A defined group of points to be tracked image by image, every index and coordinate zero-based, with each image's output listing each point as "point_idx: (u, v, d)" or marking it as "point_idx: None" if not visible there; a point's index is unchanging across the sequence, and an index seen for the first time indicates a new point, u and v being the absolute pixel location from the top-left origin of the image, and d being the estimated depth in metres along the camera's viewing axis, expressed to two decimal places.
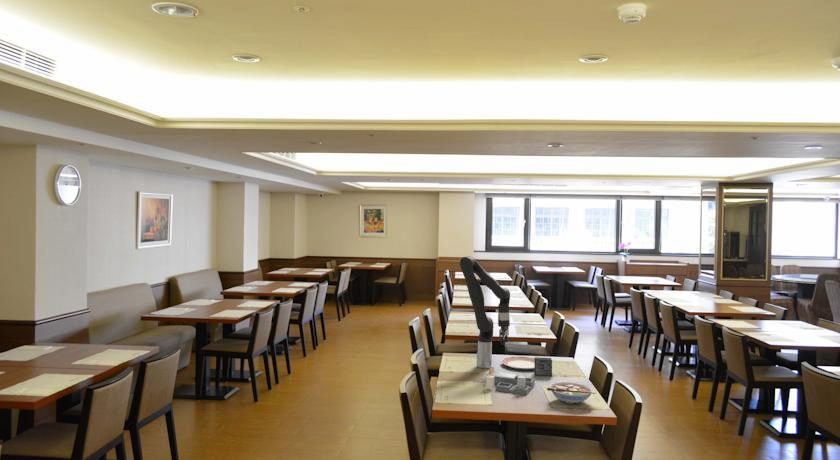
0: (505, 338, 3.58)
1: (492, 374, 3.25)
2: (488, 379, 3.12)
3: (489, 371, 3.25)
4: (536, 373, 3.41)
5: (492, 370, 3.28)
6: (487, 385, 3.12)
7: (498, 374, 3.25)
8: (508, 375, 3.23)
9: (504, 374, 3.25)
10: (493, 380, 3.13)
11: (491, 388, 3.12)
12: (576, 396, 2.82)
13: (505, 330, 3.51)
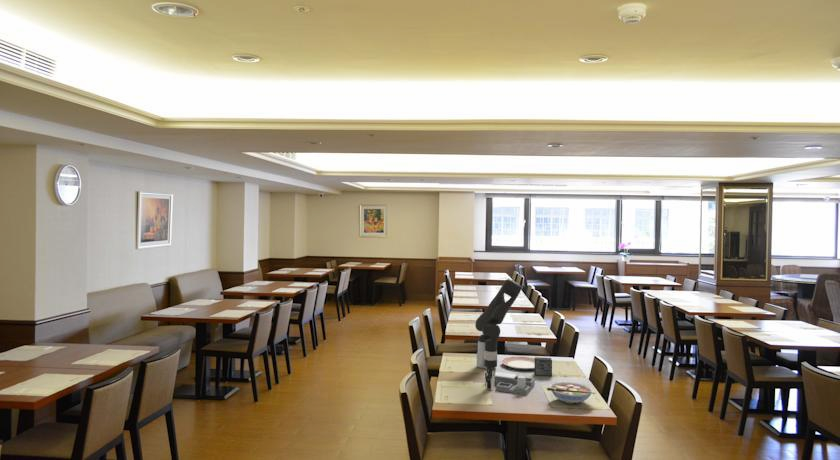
0: None
1: None
2: (488, 379, 3.12)
3: None
4: (536, 373, 3.41)
5: None
6: None
7: (498, 374, 3.25)
8: (508, 375, 3.23)
9: (504, 374, 3.25)
10: (493, 380, 3.13)
11: (491, 388, 3.12)
12: (576, 396, 2.82)
13: (492, 372, 3.11)
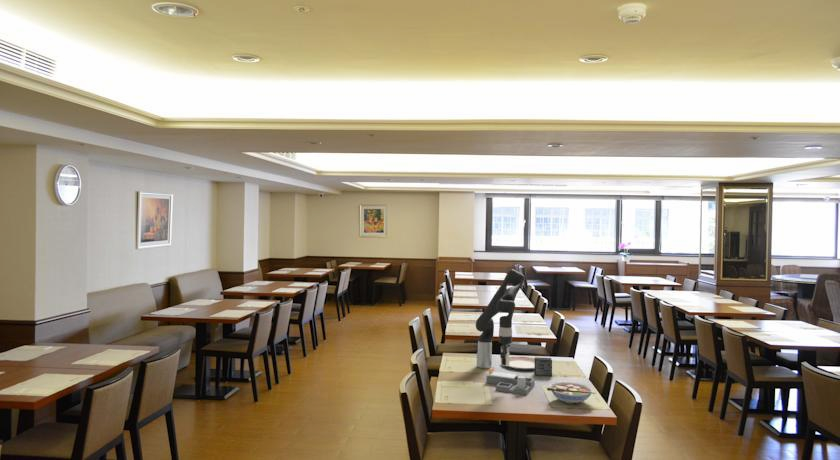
0: None
1: (492, 374, 3.25)
2: None
3: (489, 371, 3.25)
4: (536, 373, 3.41)
5: (492, 370, 3.28)
6: None
7: (498, 374, 3.25)
8: (508, 375, 3.23)
9: (504, 374, 3.25)
10: (508, 356, 3.11)
11: (506, 364, 3.10)
12: (576, 396, 2.82)
13: (506, 348, 3.10)
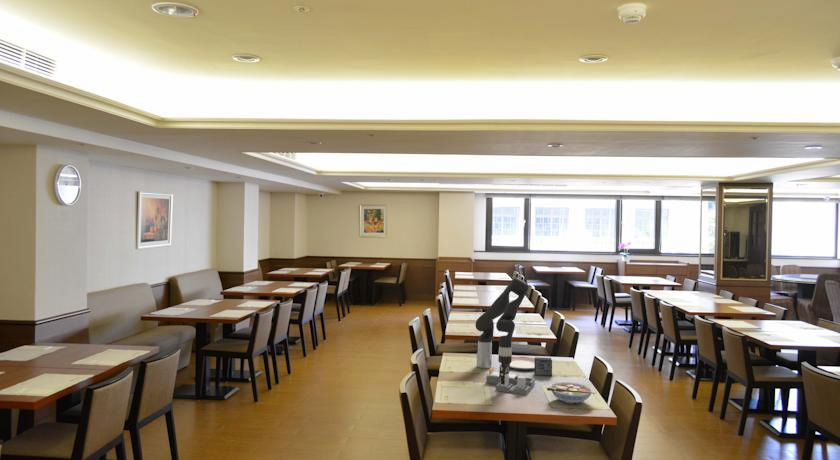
0: None
1: (492, 374, 3.25)
2: None
3: (489, 371, 3.25)
4: (536, 373, 3.41)
5: (492, 370, 3.28)
6: None
7: (498, 374, 3.25)
8: None
9: None
10: (507, 378, 3.12)
11: (506, 386, 3.10)
12: (576, 396, 2.82)
13: (506, 367, 3.10)
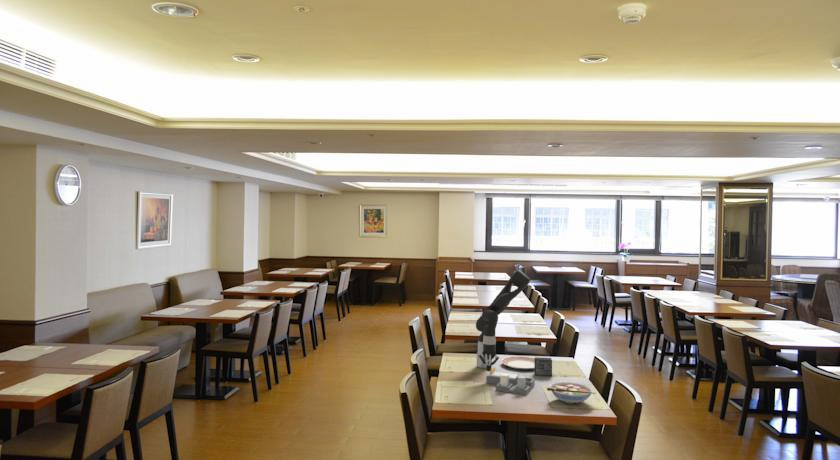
0: None
1: (493, 374, 3.24)
2: (502, 377, 3.11)
3: (490, 371, 3.25)
4: (536, 373, 3.41)
5: (493, 370, 3.27)
6: (501, 383, 3.11)
7: (499, 374, 3.24)
8: (509, 375, 3.23)
9: None
10: (507, 378, 3.12)
11: (506, 386, 3.10)
12: (576, 396, 2.82)
13: (485, 355, 3.27)
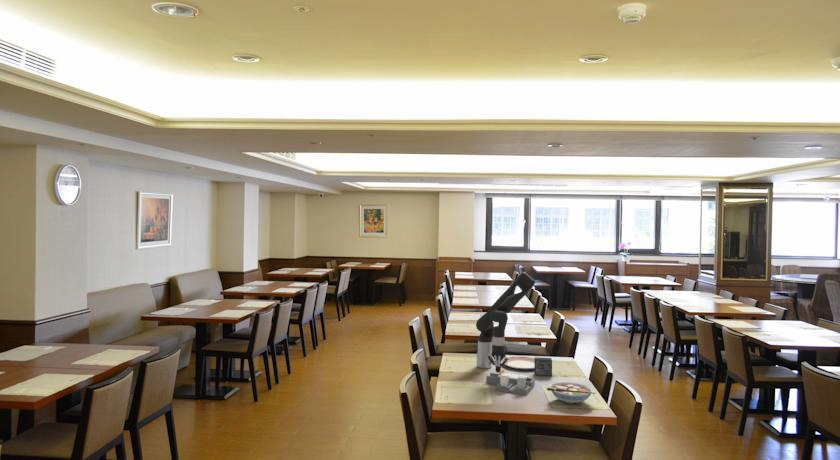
0: None
1: None
2: (502, 377, 3.11)
3: (500, 372, 3.22)
4: (536, 373, 3.41)
5: (503, 371, 3.25)
6: (501, 383, 3.11)
7: (509, 375, 3.22)
8: None
9: (515, 375, 3.22)
10: (507, 378, 3.12)
11: (506, 386, 3.10)
12: (576, 396, 2.82)
13: (494, 356, 3.25)
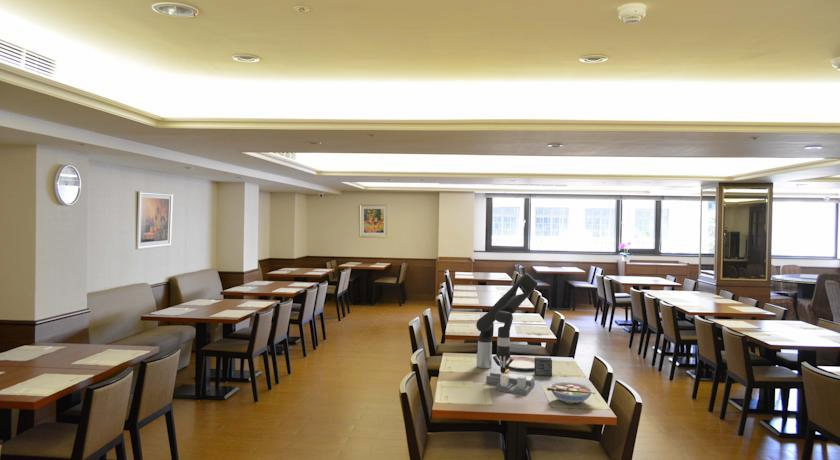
0: None
1: None
2: (502, 377, 3.11)
3: (505, 373, 3.21)
4: (536, 373, 3.41)
5: (508, 372, 3.24)
6: (501, 383, 3.11)
7: (514, 376, 3.21)
8: None
9: None
10: (507, 378, 3.12)
11: (506, 386, 3.10)
12: (576, 396, 2.82)
13: None
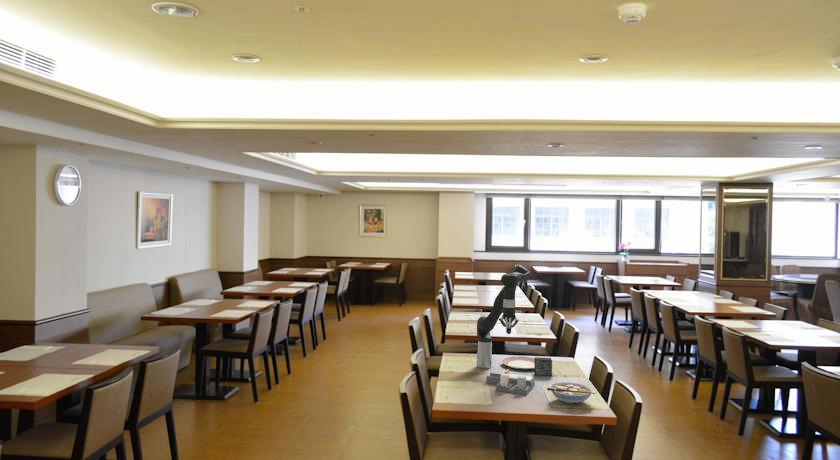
0: None
1: None
2: (502, 377, 3.11)
3: (505, 373, 3.21)
4: (536, 373, 3.41)
5: (508, 372, 3.24)
6: (501, 383, 3.11)
7: (514, 376, 3.21)
8: None
9: None
10: (507, 378, 3.12)
11: (506, 386, 3.10)
12: (576, 396, 2.82)
13: (505, 318, 3.37)
